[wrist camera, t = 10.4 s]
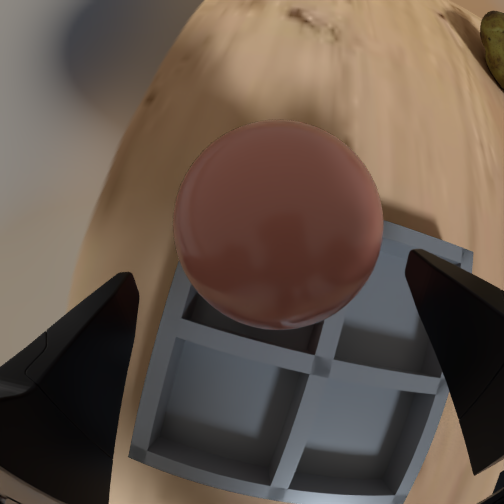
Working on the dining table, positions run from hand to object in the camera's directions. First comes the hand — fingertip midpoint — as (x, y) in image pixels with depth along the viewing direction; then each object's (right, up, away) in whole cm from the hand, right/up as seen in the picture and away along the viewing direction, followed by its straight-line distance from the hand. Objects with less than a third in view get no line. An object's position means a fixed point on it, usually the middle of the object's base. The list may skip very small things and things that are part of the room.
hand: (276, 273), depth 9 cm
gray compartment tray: (+3, -6, +8) cm, 10 cm away
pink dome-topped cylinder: (0, -1, +9) cm, 9 cm away
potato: (+31, +24, +15) cm, 41 cm away
